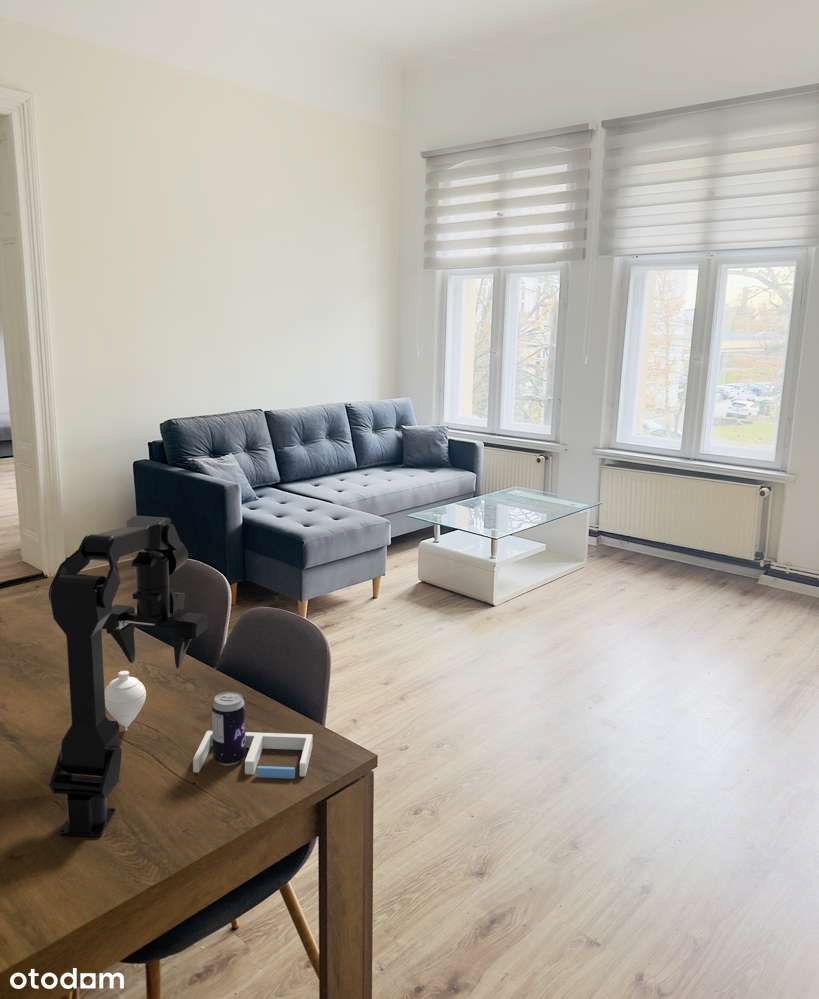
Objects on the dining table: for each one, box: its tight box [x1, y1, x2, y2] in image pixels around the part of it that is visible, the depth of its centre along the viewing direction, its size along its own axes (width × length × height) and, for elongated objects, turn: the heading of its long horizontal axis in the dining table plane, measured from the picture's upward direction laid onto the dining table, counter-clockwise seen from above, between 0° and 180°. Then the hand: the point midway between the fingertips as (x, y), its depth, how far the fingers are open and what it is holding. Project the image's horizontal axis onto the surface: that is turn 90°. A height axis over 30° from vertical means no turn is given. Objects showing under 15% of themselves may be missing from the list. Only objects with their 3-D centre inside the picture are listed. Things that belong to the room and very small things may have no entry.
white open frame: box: [192, 730, 313, 780], centre depth 142 cm, size 10×20×2 cm, turn 90°
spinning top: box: [104, 670, 147, 732], centre depth 149 cm, size 8×8×12 cm
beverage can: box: [211, 691, 246, 767], centre depth 141 cm, size 6×6×12 cm
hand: (155, 664), depth 146 cm, fingers open, 9 cm apart
